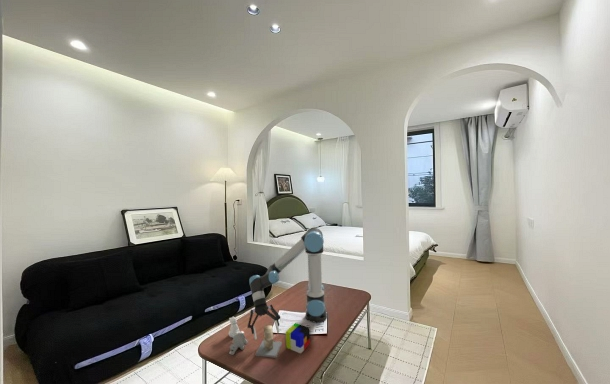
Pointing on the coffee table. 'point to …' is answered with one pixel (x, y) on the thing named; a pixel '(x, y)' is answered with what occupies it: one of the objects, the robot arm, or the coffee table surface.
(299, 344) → the puzzle toy
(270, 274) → the robot arm
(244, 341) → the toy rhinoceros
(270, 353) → the board
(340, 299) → the coffee table surface
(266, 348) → the birch tool handle
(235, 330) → the sitting furry creature
